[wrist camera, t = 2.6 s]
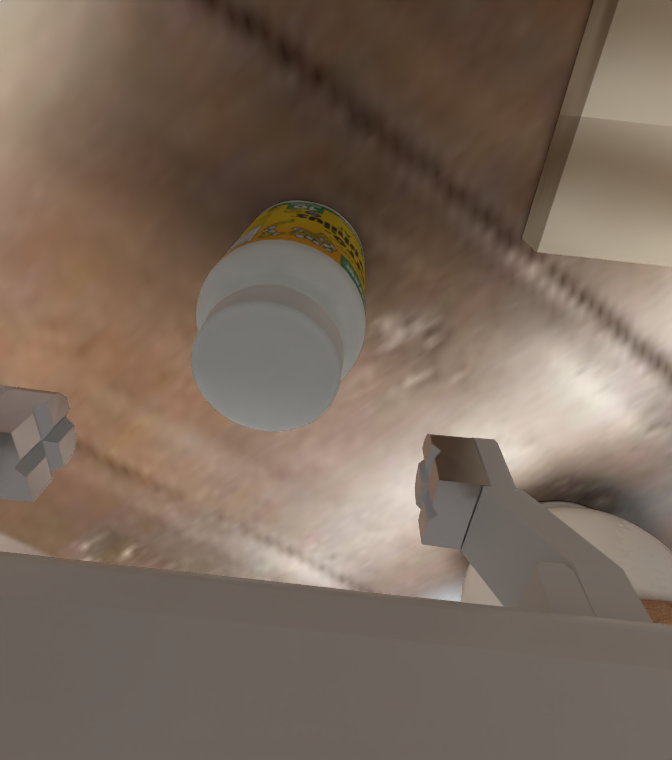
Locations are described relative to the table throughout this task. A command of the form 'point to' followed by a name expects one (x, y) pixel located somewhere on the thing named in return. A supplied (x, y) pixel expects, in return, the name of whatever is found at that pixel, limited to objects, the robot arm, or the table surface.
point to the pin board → (612, 143)
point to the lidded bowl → (619, 543)
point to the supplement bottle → (281, 318)
